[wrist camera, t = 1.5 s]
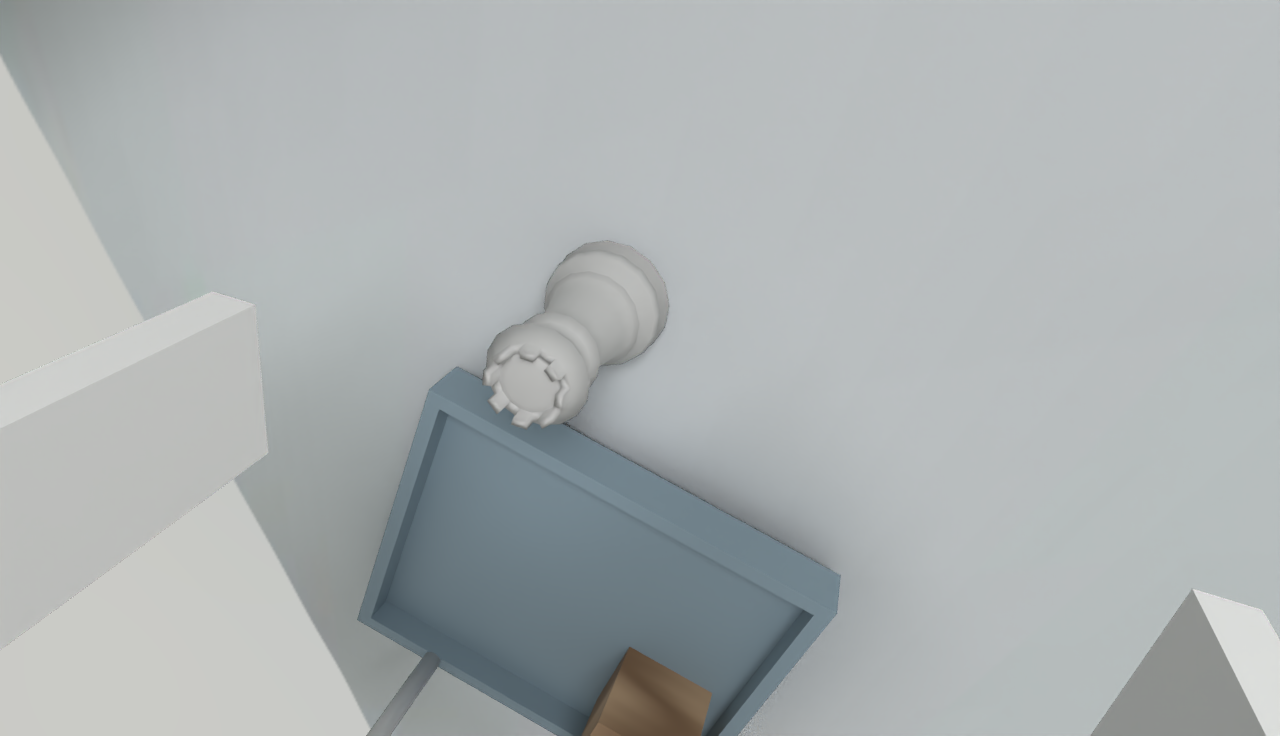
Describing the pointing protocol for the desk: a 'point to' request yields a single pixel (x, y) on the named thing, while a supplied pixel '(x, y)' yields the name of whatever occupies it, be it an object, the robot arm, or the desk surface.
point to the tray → (576, 573)
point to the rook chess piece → (576, 333)
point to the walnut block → (648, 702)
